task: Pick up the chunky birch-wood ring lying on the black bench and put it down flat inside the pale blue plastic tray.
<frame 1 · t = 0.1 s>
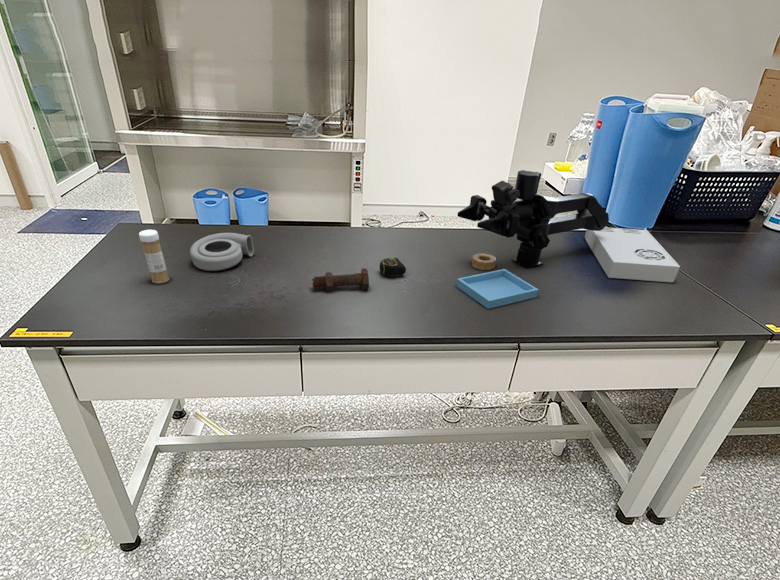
hand: (467, 219, 134), 17 cm above the table, tool horizontal, fingers open, 9 cm apart
wooden ring: (483, 265, 152), on the table
sprinkles bottle: (160, 281, 136), on the table
bolt: (340, 289, 136), on the table
power supply unit: (625, 259, 160), on the table
tape measure: (393, 273, 145), on the table
turbocharger housing: (221, 261, 148), on the table
tray: (495, 291, 138), on the table
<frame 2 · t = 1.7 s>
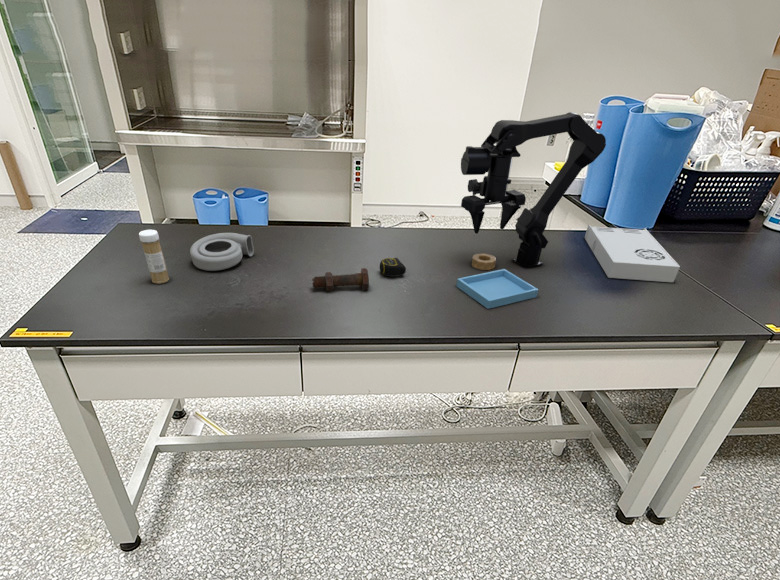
hand: (488, 231, 145), 11 cm above the table, tool pointing down, fingers open, 9 cm apart
nothing on the table moved.
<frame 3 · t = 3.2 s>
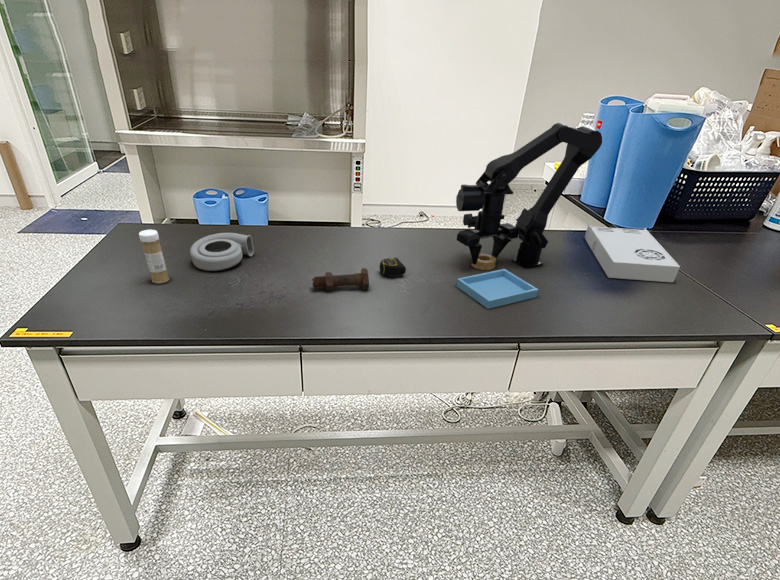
hand: (483, 262, 151), 1 cm above the table, tool pointing down, fingers closed on wooden ring, 7 cm apart
wooden ring: (483, 265, 152), on the table, touching gripper
everything else where it was.
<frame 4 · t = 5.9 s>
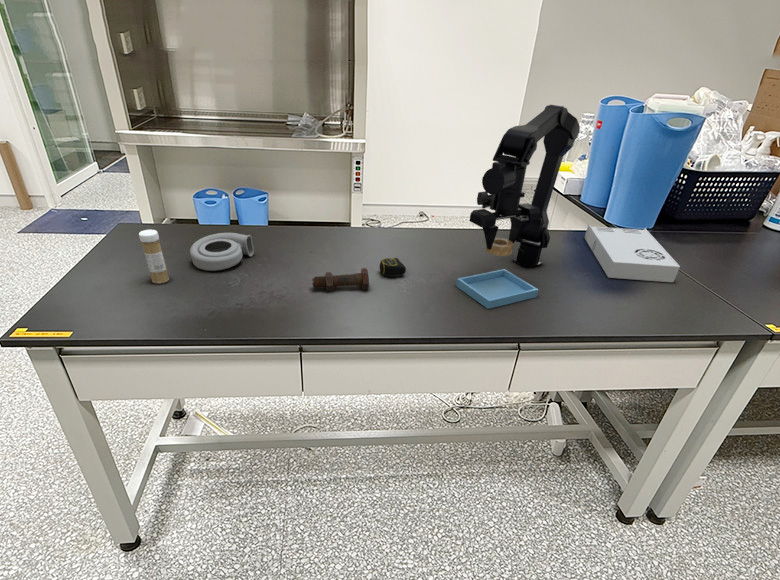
hand: (499, 247, 134), 11 cm above the table, tool pointing down, fingers closed on wooden ring, 7 cm apart
wooden ring: (498, 251, 134), point 10 cm above the table, touching gripper
everything else where it was.
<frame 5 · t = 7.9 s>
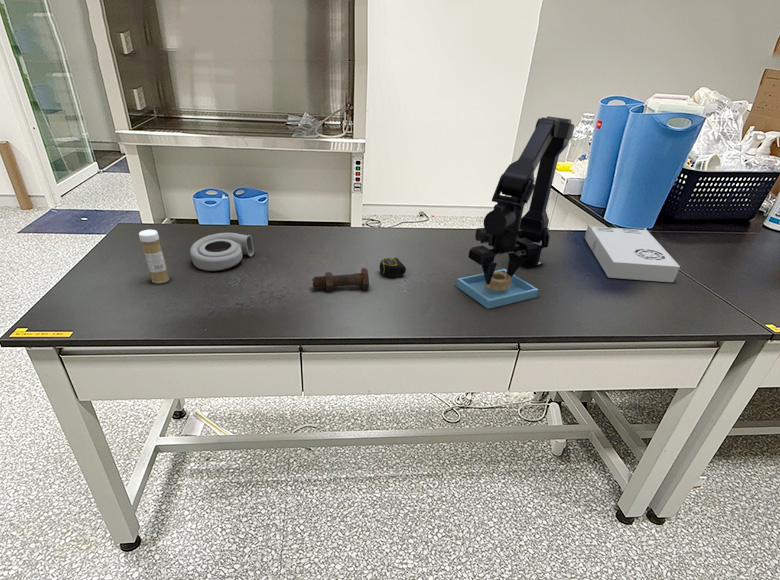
hand: (497, 281, 136), 3 cm above the table, tool pointing down, fingers closed on wooden ring, 7 cm apart
wooden ring: (497, 284, 137), point 2 cm above the table, touching gripper
everything else where it was.
when the fingers open (1 cm above the table, at t = 9.0 s): wooden ring stays where it is, resting on tray.
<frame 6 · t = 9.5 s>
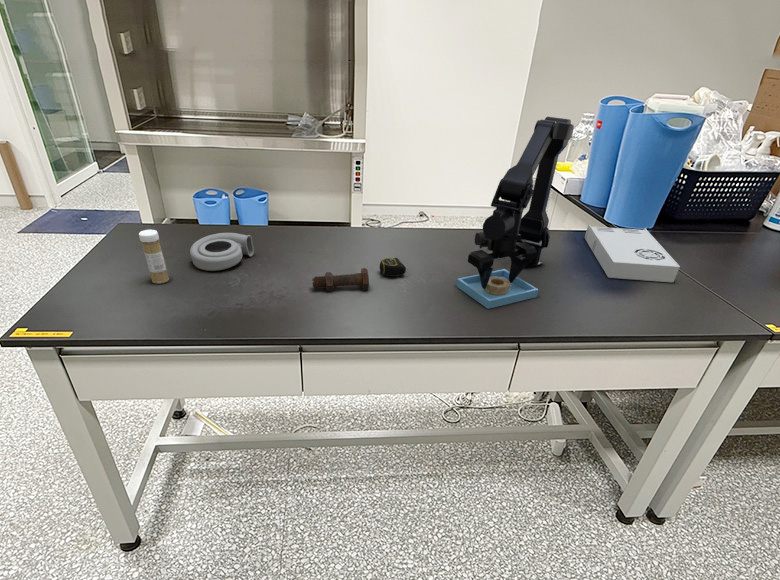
hand: (497, 285, 137), 2 cm above the table, tool pointing down, fingers open, 9 cm apart
wooden ring: (496, 289, 137), resting on tray
everything else where it was.
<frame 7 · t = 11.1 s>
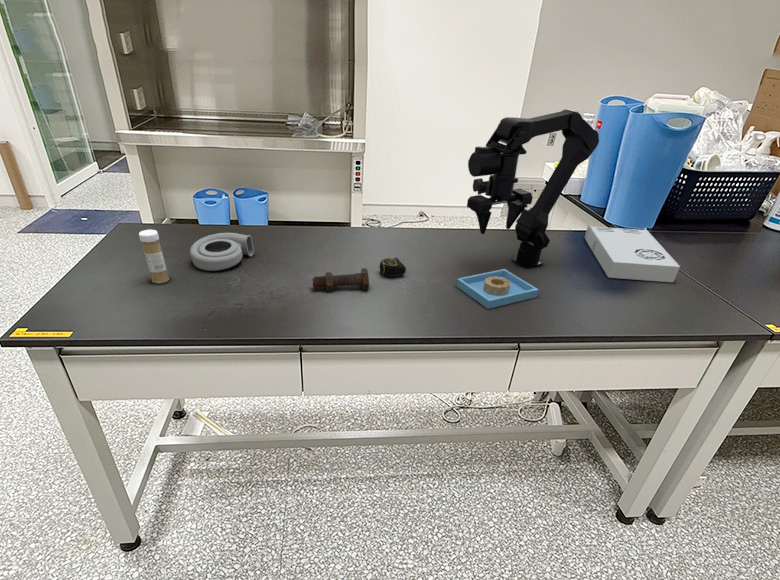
hand: (495, 231, 141), 12 cm above the table, tool pointing down, fingers open, 9 cm apart
nothing on the table moved.
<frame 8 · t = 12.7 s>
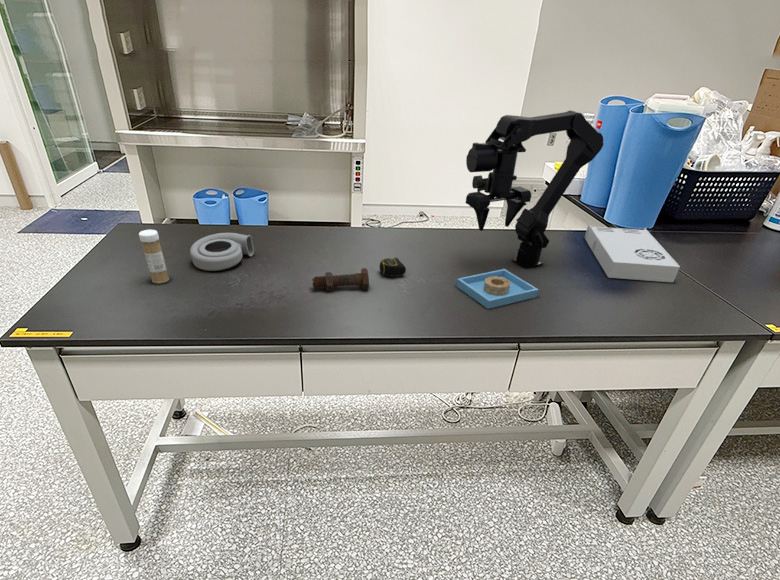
hand: (493, 228, 143), 12 cm above the table, tool pointing down, fingers open, 9 cm apart
nothing on the table moved.
at the end: wooden ring inside the target area in the tray (0.1 cm from its centre), point 0.5 cm above the tray's base; wooden ring tilted 0°; the gripper is holding nothing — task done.
